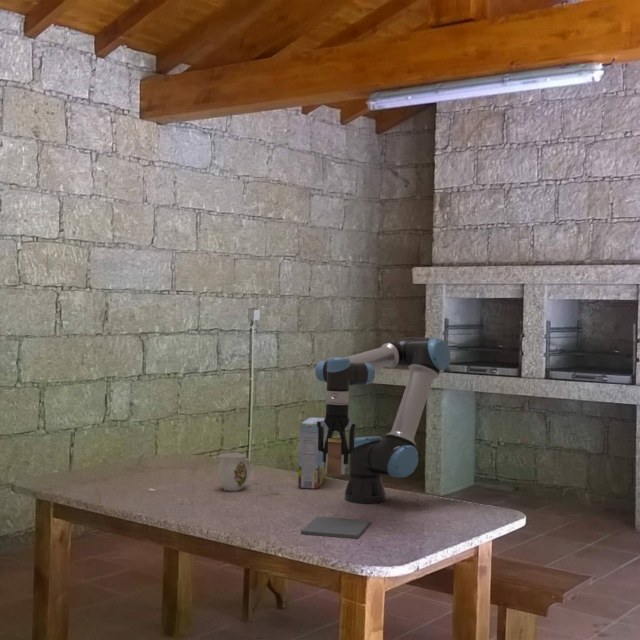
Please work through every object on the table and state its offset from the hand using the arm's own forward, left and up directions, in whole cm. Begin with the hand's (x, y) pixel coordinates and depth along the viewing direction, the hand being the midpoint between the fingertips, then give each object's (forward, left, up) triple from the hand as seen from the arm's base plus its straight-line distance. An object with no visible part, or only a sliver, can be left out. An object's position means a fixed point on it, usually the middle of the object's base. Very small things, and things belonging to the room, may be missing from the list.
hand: (335, 473), depth 289 cm
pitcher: (-35, -48, -15) cm, 61 cm away
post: (0, 0, 0) cm, 0 cm away
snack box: (-54, -22, -15) cm, 60 cm away
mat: (+12, +4, -15) cm, 20 cm away
